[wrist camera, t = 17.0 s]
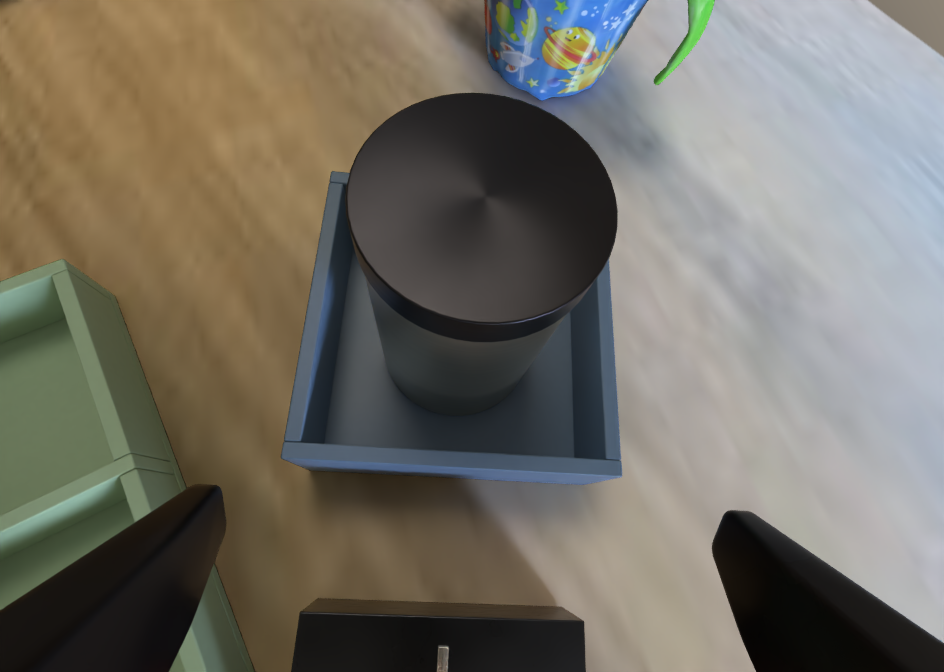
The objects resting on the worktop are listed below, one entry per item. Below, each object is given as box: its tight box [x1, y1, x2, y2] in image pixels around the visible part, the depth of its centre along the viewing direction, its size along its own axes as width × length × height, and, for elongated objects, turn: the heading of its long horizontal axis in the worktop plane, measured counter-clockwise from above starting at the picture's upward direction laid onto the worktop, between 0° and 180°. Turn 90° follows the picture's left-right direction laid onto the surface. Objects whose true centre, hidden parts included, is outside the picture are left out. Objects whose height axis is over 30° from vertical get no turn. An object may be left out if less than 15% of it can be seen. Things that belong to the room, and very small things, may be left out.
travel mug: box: [345, 93, 617, 416], centre depth 18 cm, size 7×7×12 cm
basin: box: [281, 171, 622, 485], centre depth 22 cm, size 12×12×5 cm
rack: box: [0, 259, 254, 672], centre depth 18 cm, size 18×9×4 cm, turn 29°
